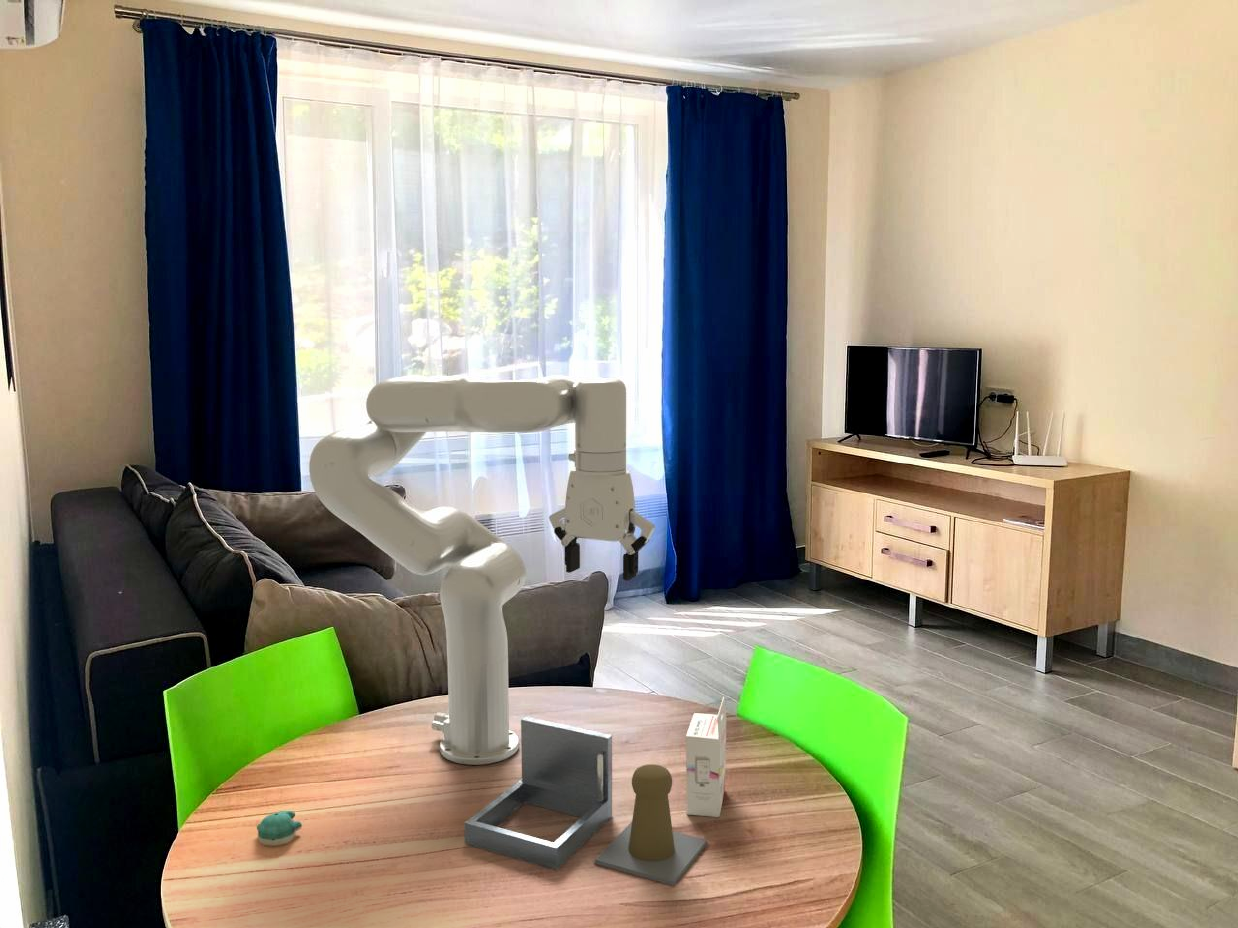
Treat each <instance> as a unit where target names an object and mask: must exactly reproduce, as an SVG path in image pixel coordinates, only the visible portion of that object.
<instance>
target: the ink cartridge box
mask: <svg viewBox="0 0 1238 928" xmlns="http://www.w3.org/2000/svg"><path fill="white" fill-rule="evenodd" d="M717 713H718V714H712V713H701V712H700V713H699V712H694V713H693V715H692V717H691V721H690V723H689V727H688V729H687V732H686V735H685V743H686V744H685V745H686V746H685V747H686V749H685V751H686V752H685V753H686V754H685V756H686V758H685V759H686V760H685V761H686V766H685V767H686V784H685V785H686V789H685V790H686V793H685V794H686V815H688V816H689V815H691V816H702V817H703V816H705V817H713V818H719V817H720V816H721V812H722V805H723V803H724V802H723V800H724V794H725V790H726V758H727V757H726V755H727V753H726V752H727V750H726V749H727V708H726V698H725V696H723V697H722V701H721V703H720V706H719V710H718V712H717Z"/></svg>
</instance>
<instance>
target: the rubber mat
mask: <svg viewBox="0 0 1238 928" xmlns="http://www.w3.org/2000/svg"><path fill="white" fill-rule="evenodd" d="M631 826H632V821H630V823H629V824H627V826H626V827H624V829H623V830H622V831H621V832H620V833H618V835H617V836H616V837H615V838H614V839H613V840H612V841H611V842H610V843H609V844H608V845H607V846H606V847H604V849H603V850H602V851H601V852H600V853H599V854H598V855H597V856H596V857H595V858H594V864H595V865H597V866H600V867H604V868H608V869H611V870H615V871H619V872H622V873H625V874H629V875H633V876H636V877H640V878H643V879H646V880H651V881H654V882H657V883H658V882H659V883H662V884H666V885H668V886H673V887H674V886H675V885H676V884H677V883H678V881H679V880H680V879H681V878H682V877H683V875H684V874H685V873H686V871H687V870H688V868H690V866H691V865H692V864H693V863H694V862H695V860H696V859H697V858H698V857H699V855H700V854H701V853H702V851H703V850H704V849H705V848H706V846H707V845H708V839H706V838H702V837H698V836H695V835H691V834H686V833H683V832H679V831H674V830H672V831H673V838H674V846H675V851H674V854H673V855H672V856H671V857H669V858H667V859H665V860H661V861H653V862H651V861H643V860H640V859H637V858H635V857H633V856H632V855H631V854H630V853H629V850H628V847H629V840H630V833H631Z"/></svg>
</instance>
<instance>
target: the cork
mask: <svg viewBox="0 0 1238 928" xmlns="http://www.w3.org/2000/svg"><path fill="white" fill-rule="evenodd" d="M631 787H632V790H633V792H634V793H635V798H634V806H633V807H634V808H633V812H632V818H631V819H632V820H631V822H632V826H631V833H630V840H629V847H628V850H629V853H630V854H631V855H632V856H633V857H635V858H637V859H640V860H643V861H651V862H653V861H661V860H665V859H667V858H669V857H671V856H672V855H673V854H674V851H675V846H674V838H673V831H674V830H673V824H672V815H671V809H670V801H669V794H670V793H671V790H672V787H673V778H672V774H671V773H670V771H669V770H668V769H667V768H666V767H664V766H662V765H660V764H652V763H651V764H643V765H641V766H639V767H637V768H636V769H635V771H633V774H632V778H631Z"/></svg>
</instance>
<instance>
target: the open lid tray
mask: <svg viewBox="0 0 1238 928" xmlns="http://www.w3.org/2000/svg"><path fill="white" fill-rule="evenodd" d="M520 739H521V740H520V741H521V746H520V747H521V779H519V781H517V782H516V783H514V784H513V785H512V786H511V787H509V788H508V789H506V791H504V792H503V793H501V794H500V795H499V796H498V797H496V798H495V799H493V800H492V801H491V802H490V803H488V804H487V805H485V807H483V808H482V809H481V810H479V811H478V812H477V813H475V814H474V815H473V816H471V817H470V818H468V819H467V820H466V821H465V822H464V844H465V845H467V846H468V845H469V846H471V847H474V848H478V849H482V850H485V851H489V852H492V853H496V854H499V855H503V856H505V857H509V858H513V859H516V860H518V861H523V862H526V863H529V864H533V865H536V866H540V867H543V868H547V869H551V870H553V871H558V870H559V869H560V868H561V867H562V866H563V865H564V864H565V863H566V862H567V861H568V860H569V859H571V857H573V856H574V855H575V853H576V852H577V851H579V850H580V849H581V848H582V846H584V845H585V844H586V843H588V841H590V839H591V838H592V837H593V836H594V835H595V834H596V833H597V832H598V831H599V830H600V829H602V827H603V826H604V825H606V823H608V821H610V820H611V818H612V817H613V734H609V733H606V732H605V733H604V732H599V731H596V730H592V729H585V728H581V727H576V726H571V725H568V724H563V723H558V722H553V721H548V720H545V719H539V718H535V717H530V716H524V717H523V718H521V719H520ZM524 804H526V805H531V806H535V807H538V808H542V809H546V810H550V811H554V812H558V813H562V814H566V815H569V816H574V817H577V818H579V819H578V820H576V821H575V823H573V824H572V825H571V826H570V827H569V828H568V829H566V831H565V832H563V833H562V835H560V837H559V836H558V838H557V839H555V841H554V842H553V841H551V840H550V841H549V840H545V839H542V838H538V837H534V836H531V835H528V834H525V833H519V832H517V831H514V830H513V831H512V830H509V829H506V828H503V827H499V826H498V825H499V824H500V823H502V822H503V821H504V820H505V819H507V818H508V817H509V816H510V815H511V814H512V813H514V812H515V811H517V810H518V809H519V808H520V807H521V806H523V805H524Z"/></svg>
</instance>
